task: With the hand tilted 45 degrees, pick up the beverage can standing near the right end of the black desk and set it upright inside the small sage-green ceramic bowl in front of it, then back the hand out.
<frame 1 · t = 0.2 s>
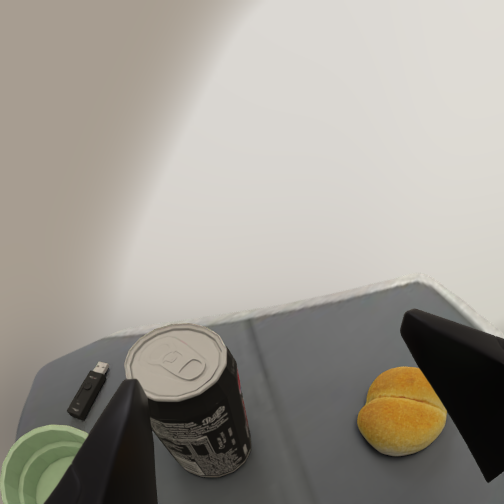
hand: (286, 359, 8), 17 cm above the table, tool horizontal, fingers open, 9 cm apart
beverage can: (213, 447, 20), on the table
bread roll: (400, 416, 20), on the table
usb flash drive: (92, 392, 25), on the table
bowl: (81, 503, 13), on the table
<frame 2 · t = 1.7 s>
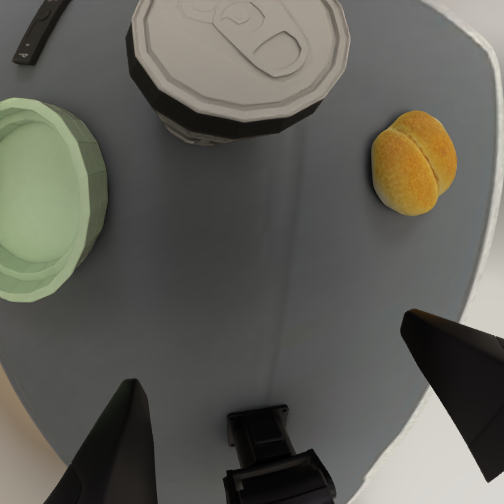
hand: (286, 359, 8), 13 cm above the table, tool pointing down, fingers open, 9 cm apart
beverage can: (207, 98, 17), on the table
bread roll: (405, 161, 21), on the table
usb flash drive: (49, 19, 11), on the table
bowl: (34, 192, 15), on the table
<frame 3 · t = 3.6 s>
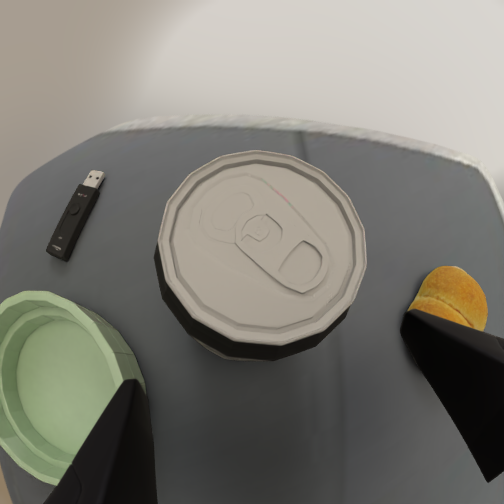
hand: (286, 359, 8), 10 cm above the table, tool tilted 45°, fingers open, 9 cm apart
beverage can: (239, 311, 19), on the table
bread roll: (438, 322, 20), on the table
usb flash drive: (79, 215, 20), on the table
bowl: (69, 389, 15), on the table
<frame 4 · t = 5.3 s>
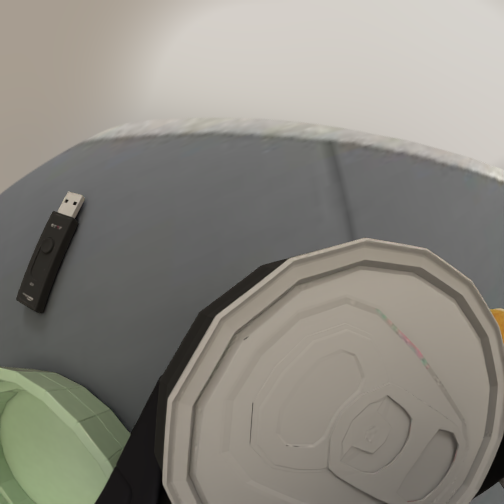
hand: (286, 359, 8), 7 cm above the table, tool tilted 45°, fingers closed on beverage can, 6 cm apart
beverage can: (263, 384, 14), on the table, touching gripper
usb flash drive: (55, 252, 15), on the table
bowl: (62, 464, 10), on the table
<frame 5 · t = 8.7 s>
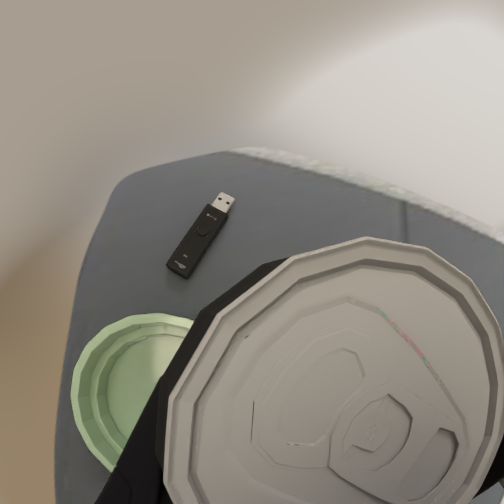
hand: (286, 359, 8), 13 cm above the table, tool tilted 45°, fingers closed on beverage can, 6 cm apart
beverage can: (263, 384, 14), point 6 cm above the table, touching gripper
usb flash drive: (203, 235, 24), on the table
bowl: (170, 400, 19), on the table
when the fingers open (7 cm above the table, at t = 12.1 s): beverage can stays where it is, resting on bowl.
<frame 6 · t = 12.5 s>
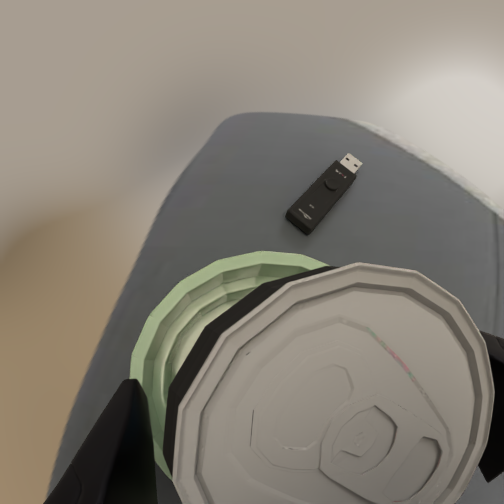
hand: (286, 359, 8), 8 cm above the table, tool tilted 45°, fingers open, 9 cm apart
beverage can: (263, 386, 14), resting on bowl
usb flash drive: (326, 192, 20), on the table
bowl: (262, 383, 15), on the table
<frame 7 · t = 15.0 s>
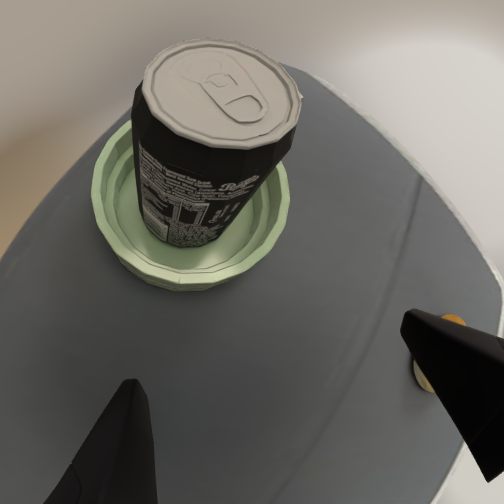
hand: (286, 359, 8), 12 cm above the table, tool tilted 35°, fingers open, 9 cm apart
beverage can: (185, 207, 20), resting on bowl
bread roll: (433, 352, 25), on the table
bowl: (185, 207, 20), on the table
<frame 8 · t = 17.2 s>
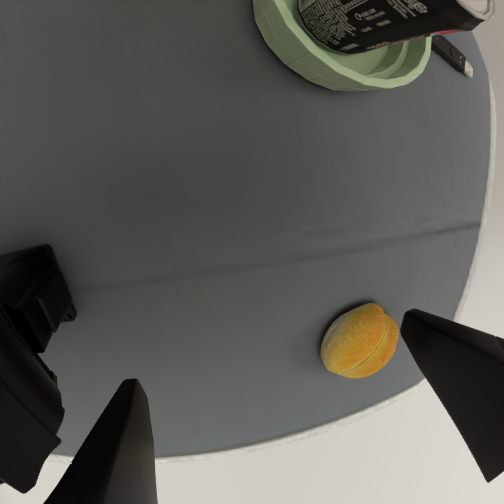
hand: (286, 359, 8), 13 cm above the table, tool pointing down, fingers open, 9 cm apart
beverage can: (332, 18, 15), resting on bowl
bread roll: (354, 334, 28), on the table
usb flash drive: (445, 53, 18), on the table
bowl: (331, 19, 15), on the table
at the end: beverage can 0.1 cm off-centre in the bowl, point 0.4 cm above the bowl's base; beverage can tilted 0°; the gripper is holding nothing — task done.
